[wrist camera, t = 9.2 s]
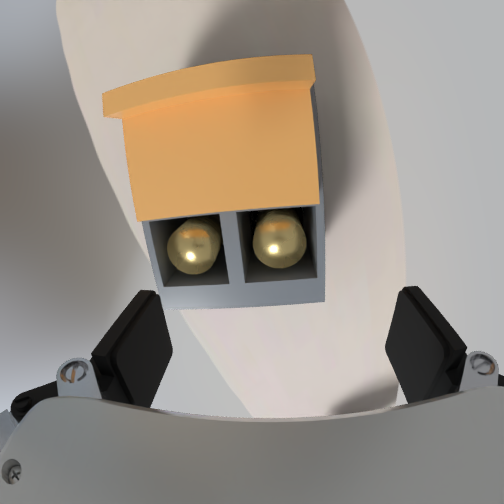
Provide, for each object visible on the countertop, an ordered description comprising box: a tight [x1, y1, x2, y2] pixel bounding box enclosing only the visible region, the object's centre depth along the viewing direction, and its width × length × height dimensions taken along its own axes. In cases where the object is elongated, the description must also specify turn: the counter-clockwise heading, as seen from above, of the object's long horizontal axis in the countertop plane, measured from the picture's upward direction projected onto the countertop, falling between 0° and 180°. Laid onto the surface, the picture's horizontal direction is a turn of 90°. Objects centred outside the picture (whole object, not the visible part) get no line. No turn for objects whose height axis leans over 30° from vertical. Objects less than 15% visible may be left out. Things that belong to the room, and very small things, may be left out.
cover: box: [102, 54, 320, 222], centre depth 16 cm, size 9×12×4 cm
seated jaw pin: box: [167, 214, 223, 274], centre depth 26 cm, size 4×4×9 cm
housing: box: [142, 84, 325, 310], centre depth 24 cm, size 18×14×10 cm
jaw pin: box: [253, 207, 306, 268], centre depth 25 cm, size 4×4×9 cm
